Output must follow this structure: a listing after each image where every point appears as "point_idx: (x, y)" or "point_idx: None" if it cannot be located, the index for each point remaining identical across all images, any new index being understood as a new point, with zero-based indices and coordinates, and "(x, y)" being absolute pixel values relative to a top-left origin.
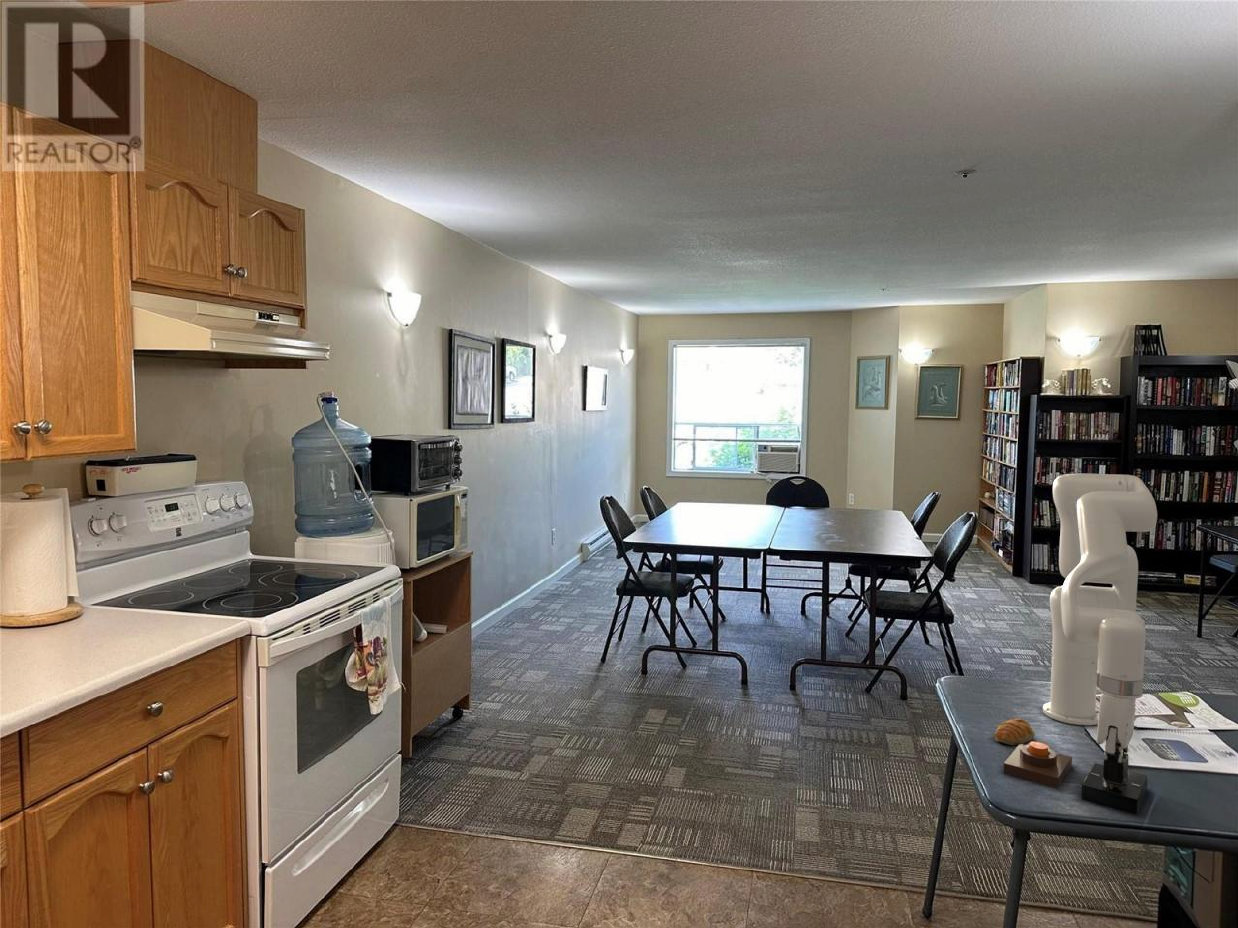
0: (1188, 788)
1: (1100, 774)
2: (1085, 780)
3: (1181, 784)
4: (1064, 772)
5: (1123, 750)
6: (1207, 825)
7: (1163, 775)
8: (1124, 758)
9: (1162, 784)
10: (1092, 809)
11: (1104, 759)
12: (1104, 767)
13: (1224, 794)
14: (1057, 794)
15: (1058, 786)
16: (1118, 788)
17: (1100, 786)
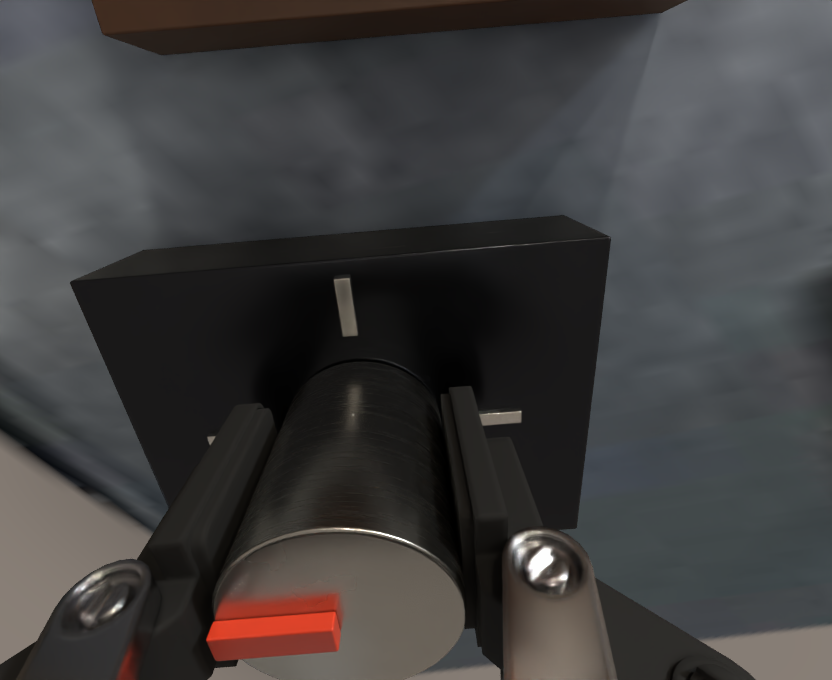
0: (681, 559)
1: (389, 332)
2: (173, 279)
3: (712, 537)
4: (381, 24)
5: (493, 657)
6: None
7: (789, 473)
8: (307, 676)
9: (669, 490)
10: (81, 332)
11: (149, 547)
12: (195, 475)
13: (690, 634)
14: (62, 89)
15: (181, 51)
16: None
17: (172, 385)
